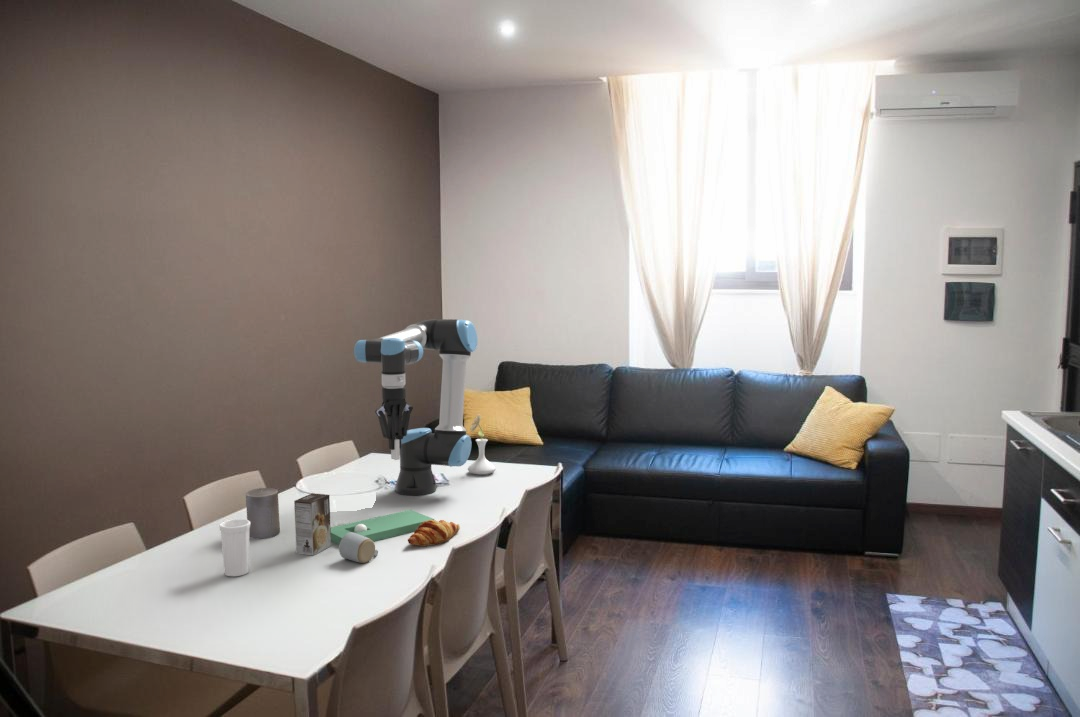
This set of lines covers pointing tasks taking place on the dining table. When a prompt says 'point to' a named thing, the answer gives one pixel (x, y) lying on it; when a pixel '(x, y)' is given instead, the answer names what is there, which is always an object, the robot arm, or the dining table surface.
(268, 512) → the pillar candle
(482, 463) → the flower in vase
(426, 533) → the croissant
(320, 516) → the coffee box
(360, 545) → the ceramic mug
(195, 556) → the dining table surface
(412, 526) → the green slotted board
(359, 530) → the ball
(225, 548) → the cup
